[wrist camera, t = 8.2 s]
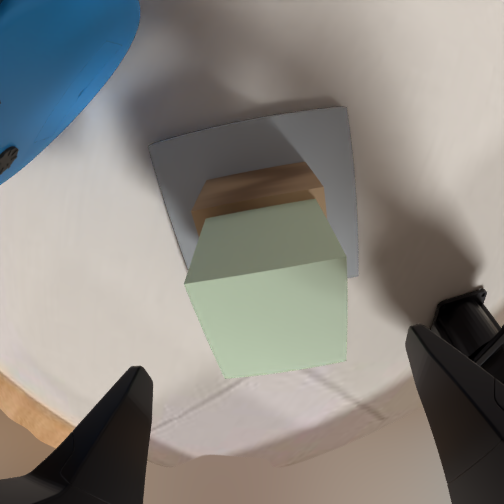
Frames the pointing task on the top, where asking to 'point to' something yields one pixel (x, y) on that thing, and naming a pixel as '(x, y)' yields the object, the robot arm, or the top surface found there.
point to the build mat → (262, 166)
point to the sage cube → (270, 289)
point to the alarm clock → (54, 67)
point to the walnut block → (257, 191)
